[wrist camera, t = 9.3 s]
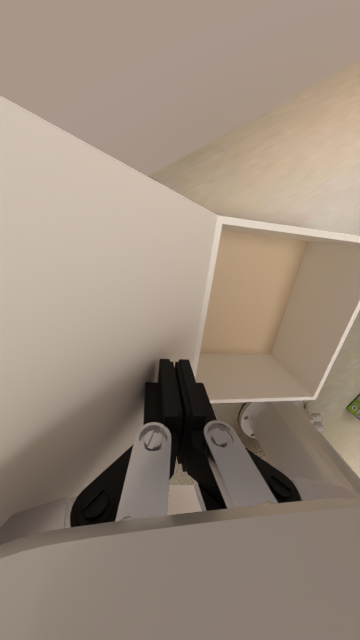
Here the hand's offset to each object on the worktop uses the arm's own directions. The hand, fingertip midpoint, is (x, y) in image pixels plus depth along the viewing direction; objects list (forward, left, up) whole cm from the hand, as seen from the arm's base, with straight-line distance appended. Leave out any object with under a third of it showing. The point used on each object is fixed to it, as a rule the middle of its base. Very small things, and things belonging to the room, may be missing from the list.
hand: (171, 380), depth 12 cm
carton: (-11, 0, -17) cm, 20 cm away
